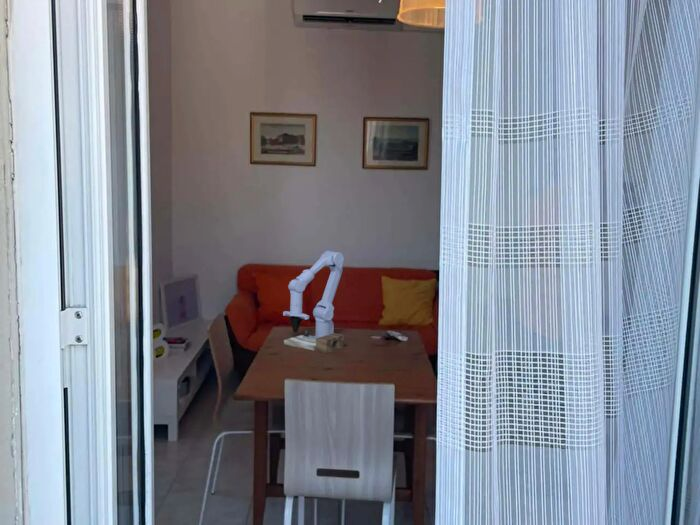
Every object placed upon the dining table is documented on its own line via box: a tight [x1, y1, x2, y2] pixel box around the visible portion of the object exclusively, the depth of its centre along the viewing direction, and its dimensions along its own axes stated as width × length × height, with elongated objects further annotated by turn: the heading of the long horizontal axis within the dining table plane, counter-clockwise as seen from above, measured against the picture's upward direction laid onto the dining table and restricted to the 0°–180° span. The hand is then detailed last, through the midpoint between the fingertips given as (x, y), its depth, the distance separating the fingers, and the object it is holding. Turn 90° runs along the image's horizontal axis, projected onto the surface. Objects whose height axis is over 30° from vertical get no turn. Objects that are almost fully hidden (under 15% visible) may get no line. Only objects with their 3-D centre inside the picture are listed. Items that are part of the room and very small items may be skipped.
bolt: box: [303, 329, 319, 343], centre depth 288 cm, size 3×10×4 cm, turn 56°
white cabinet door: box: [283, 332, 345, 354], centre depth 288 cm, size 14×25×6 cm, turn 56°
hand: (295, 331), depth 294 cm, fingers closed
